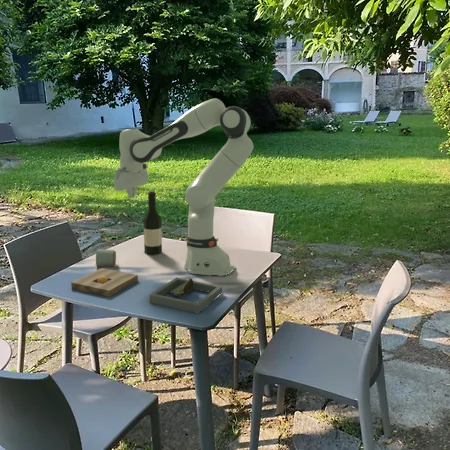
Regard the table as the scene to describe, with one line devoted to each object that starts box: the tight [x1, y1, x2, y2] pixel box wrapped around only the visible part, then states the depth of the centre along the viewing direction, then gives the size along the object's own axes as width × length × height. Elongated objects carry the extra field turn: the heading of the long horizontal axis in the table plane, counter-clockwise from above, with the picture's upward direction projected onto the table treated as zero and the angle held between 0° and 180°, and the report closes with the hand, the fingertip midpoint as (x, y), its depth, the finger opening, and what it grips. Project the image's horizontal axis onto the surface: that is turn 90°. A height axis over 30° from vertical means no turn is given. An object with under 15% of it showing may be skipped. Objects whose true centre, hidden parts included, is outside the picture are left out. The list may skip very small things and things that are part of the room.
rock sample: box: [168, 277, 194, 299], centre depth 168 cm, size 10×8×9 cm
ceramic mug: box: [95, 248, 117, 268], centre depth 198 cm, size 11×8×8 cm
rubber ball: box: [97, 276, 108, 284], centre depth 174 cm, size 4×4×4 cm
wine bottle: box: [143, 190, 163, 256], centre depth 213 cm, size 8×8×30 cm
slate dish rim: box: [148, 277, 223, 314], centre depth 165 cm, size 20×19×3 cm
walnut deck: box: [70, 267, 139, 298], centre depth 176 cm, size 18×18×2 cm
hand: (131, 197), depth 198 cm, fingers closed
